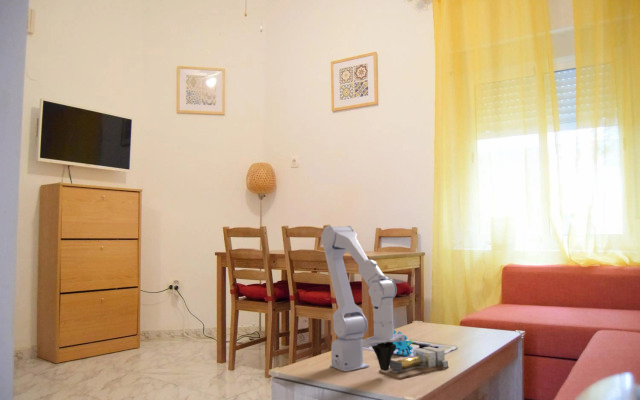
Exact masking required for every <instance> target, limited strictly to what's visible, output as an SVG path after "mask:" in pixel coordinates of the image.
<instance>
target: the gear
mask: <svg viewBox="0 0 640 400" xmlns="http://www.w3.org/2000/svg"><path fill="white" fill-rule="evenodd" d="M399 333H400V334H403V333H402V332H401V331H398V332H397V331H396V330H395V329H394V334H399ZM407 339H408V336H407V335H406V334H404V340H405V341H398V342H393V344H395V345H396V349H395V351H396V350H397V351H396V354H397V355H398V356H401V354H402V356H403V357H407V356H409V354H410V355H411V354H412V350H414V348H413V347H412V346H411V345H412V344H413V343H414V341H413V339H410V340H407ZM410 350H411V351H410Z"/></svg>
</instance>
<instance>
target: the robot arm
mask: <svg viewBox="0 0 640 400" xmlns="http://www.w3.org/2000/svg"><path fill="white" fill-rule="evenodd" d="M320 239H321V243H322V247H323V252H324V255H325V261H326V263H327V267H328V272H329V277H330V279H331V284H332V289H333V292H334V296H335V301H336V305H337V309H336V310H335V312H333V315H332V318H333V331H334V333H335V335H336V336H337V339H335V340H333V341H332V343H331V347H330V348H331V364H329V365H330V367H332V368H334V369H338V370H340V371H342V372H351V371H353V370H354V371H355V370H359V369H364V368H369V367H370V364H369V363H368V364H367V363H365V362H364V354H363V353H364V348H365V349H369V348H372V351H374V354H375V355H376V358H377V362H378V365H379V368H380V369H379V370H384V371H387V370H389V368H390V361H391V360H392V357H393V354H394V352H395V351H396V350H397V349H396V345H395V344H393V342H398V341H405V340H404V336H405V334H403V333H402V334H400V333H399V334H397V333H395V334H394V330H395V329H394V299H395V297H396V295H397V292H398V291H397V290H398V288H397V285H396V282H395V281H394V280H393V279H392V278H389V277H388V276H386V275H385V274H384V272H382V270H381V268H380V267H379V265H378V262H377V261H375V260H373V259H369V258H368V256H367V255H366V253H365V251H364V249H363V248H362V246H361V244H360V243H359V240H358V233H357V232H356V231H355V229H354V228H353V227H352V226H351V225H346V226H338V225H337V226H335V225H334V226H332V225H327V226H325V227H324V229H323V230H322V234H321V236H320ZM347 252H348V254H349V255H350V256H351V257H352V259H353V260H354V261H355V263H357V265H358V269H357V271H358V273H359V275H360V276H361V278H362V279H363V280H364V282H365V283H366V285H367V286H368V288H369V289H367V291H368V295H369V297H370V302H371V305H372V315H373V316H372V319H373V320H372V321H373V325H372V326H373V336H370V337H367V338H365V339H363V337H365V333H366V332H367V331H368V327H369V324H368V323H369V322H368V319H367V317H366V316H365V314H364V312H363V309H362V308H361V307H360V306H359V305H357V304H356V303H355V300H354V299H355V298H354V296H353V291H352V287H351V285H350V284H351V283H350V281H349V277H348V272H347V269H346V265H345V261H344V258H343V257H344V255H345V254H347ZM395 349H396V350H395Z"/></svg>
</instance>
